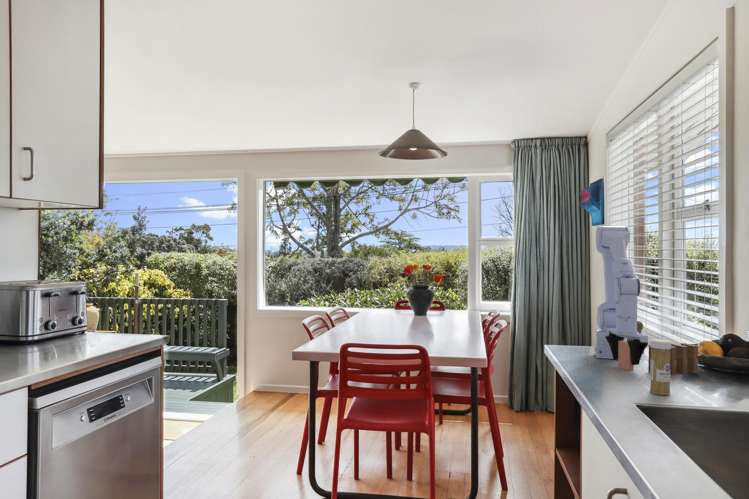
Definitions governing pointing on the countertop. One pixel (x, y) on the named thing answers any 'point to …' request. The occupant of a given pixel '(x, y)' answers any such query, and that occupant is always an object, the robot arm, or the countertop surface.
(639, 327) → the cork
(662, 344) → the toothpick jar
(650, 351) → the domino
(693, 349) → the domino
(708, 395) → the countertop surface
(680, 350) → the domino
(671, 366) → the domino
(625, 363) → the domino
